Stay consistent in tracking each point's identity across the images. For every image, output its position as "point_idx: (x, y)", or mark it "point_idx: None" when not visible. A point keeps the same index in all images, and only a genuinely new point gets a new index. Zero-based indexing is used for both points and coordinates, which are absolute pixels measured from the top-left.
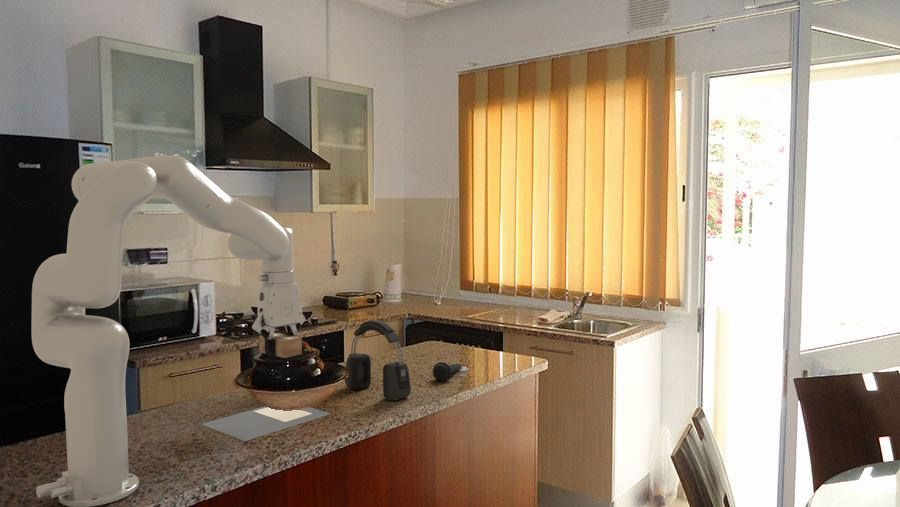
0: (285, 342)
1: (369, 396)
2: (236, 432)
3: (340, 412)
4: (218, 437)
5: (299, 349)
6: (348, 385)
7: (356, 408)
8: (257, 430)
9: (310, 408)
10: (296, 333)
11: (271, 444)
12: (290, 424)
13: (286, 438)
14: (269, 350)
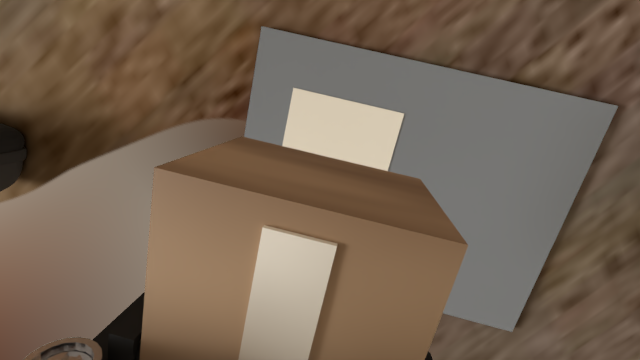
0: (437, 229)
1: (39, 50)
2: (547, 189)
3: (217, 27)
4: (576, 222)
5: (251, 148)
6: (17, 166)
7: (157, 3)
8: (507, 142)
9: (251, 134)
10: (53, 349)
11: (588, 18)
12: (415, 81)
13: (517, 13)
14: (427, 355)
